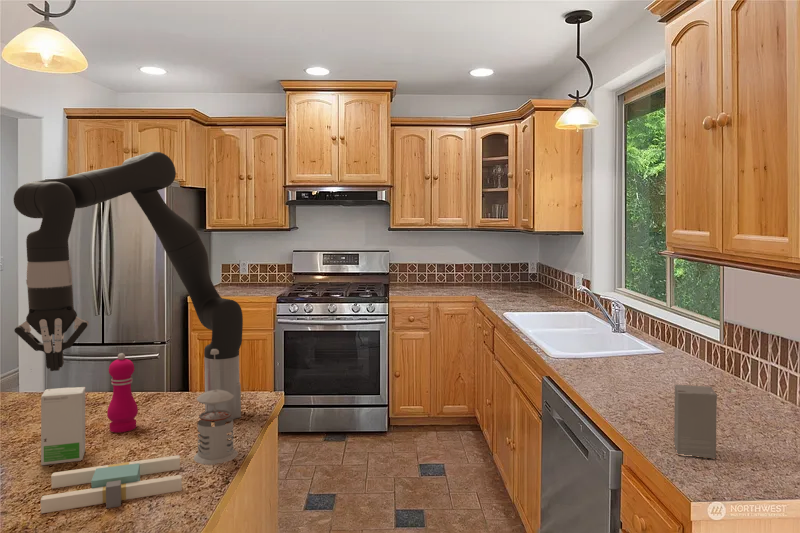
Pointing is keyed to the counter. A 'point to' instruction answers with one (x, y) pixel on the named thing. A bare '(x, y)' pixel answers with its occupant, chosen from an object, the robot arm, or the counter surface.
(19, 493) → the counter surface
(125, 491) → the track
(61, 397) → the skincare box
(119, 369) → the pepper mill
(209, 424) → the french press
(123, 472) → the block
